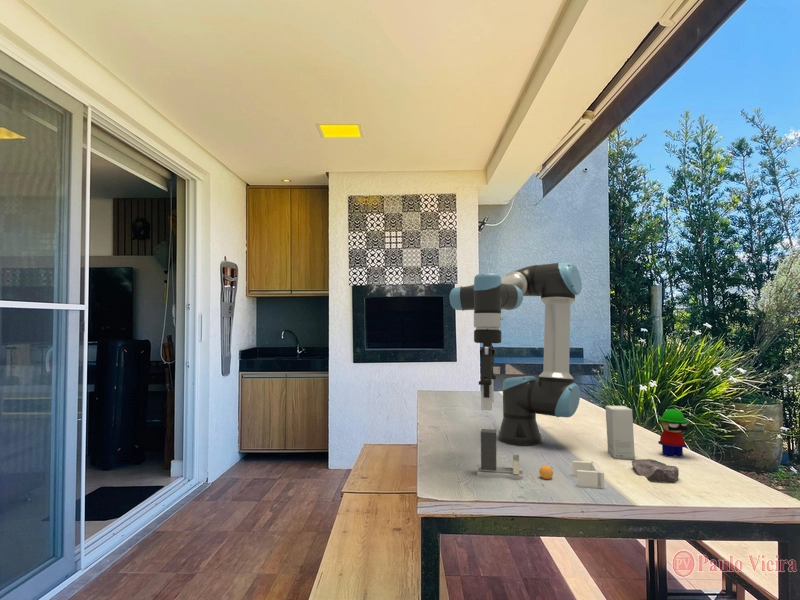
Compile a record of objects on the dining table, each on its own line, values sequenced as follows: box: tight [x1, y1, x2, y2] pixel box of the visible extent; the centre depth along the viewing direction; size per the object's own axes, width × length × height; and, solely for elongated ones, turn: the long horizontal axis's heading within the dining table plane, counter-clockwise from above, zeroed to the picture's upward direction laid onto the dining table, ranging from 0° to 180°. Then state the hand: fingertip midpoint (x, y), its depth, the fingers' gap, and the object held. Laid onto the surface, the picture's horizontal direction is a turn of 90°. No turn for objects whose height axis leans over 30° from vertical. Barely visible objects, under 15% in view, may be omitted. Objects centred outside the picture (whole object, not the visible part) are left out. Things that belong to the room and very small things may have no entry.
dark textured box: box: [480, 428, 520, 475], centre depth 124 cm, size 10×6×12 cm, turn 77°
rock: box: [631, 458, 680, 483], centre depth 125 cm, size 8×11×5 cm
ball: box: [538, 465, 554, 480], centre depth 121 cm, size 4×4×4 cm
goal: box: [571, 460, 605, 489], centre depth 119 cm, size 6×10×4 cm, turn 166°
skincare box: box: [605, 405, 636, 460], centre depth 147 cm, size 8×7×16 cm
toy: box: [657, 408, 691, 458], centre depth 147 cm, size 9×9×15 cm
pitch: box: [476, 465, 524, 480], centre depth 122 cm, size 34×14×2 cm, turn 77°
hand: (487, 406), depth 125 cm, fingers open, 13 cm apart
